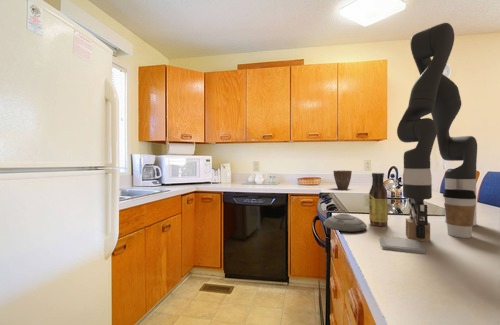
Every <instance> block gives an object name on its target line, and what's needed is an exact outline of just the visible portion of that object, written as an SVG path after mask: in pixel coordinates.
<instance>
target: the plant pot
mask: <svg viewBox="0 0 500 325" xmlns="http://www.w3.org/2000/svg"><path fill="white" fill-rule="evenodd" d="M352 172H353V171H352V170H333V172H332V173H333V178H334V182H335V185H336V187H337V189H338V190H340V191H346V190H349V186H350V182H351V179H352Z"/></svg>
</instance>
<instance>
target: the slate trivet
mask: <svg viewBox="0 0 500 325" xmlns="http://www.w3.org/2000/svg"><path fill="white" fill-rule="evenodd" d="M379 240H380V246H381V249H382V250H388V251H389V250H390V251H395V252H396V251H397V252H406V253H413V254H415V253H416V254H425V255H426V250H425V248H424V247H423V245H422V244H421V242H420V241H418V240H416V239H408V238H404V237H403V238H402V237H394V236H392V237H391V236H381V235H380V236H379Z"/></svg>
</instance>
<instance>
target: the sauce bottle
mask: <svg viewBox="0 0 500 325" xmlns="http://www.w3.org/2000/svg"><path fill="white" fill-rule="evenodd" d="M371 177H372V179H371V180H372V182H371V183H372V184H371V187H370V190H369V192H368V210H369V211H368V212H369V224H371V225H372V226H376V227H386V226H387V225H388V220H389V216H388V215H389V214H388V212H389V211H388V210H389V209H388V204H389V203H388V191H387V188H386V186H385V185H384V184H385V183H384V177H385V173H384V172H372V173H371Z"/></svg>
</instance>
